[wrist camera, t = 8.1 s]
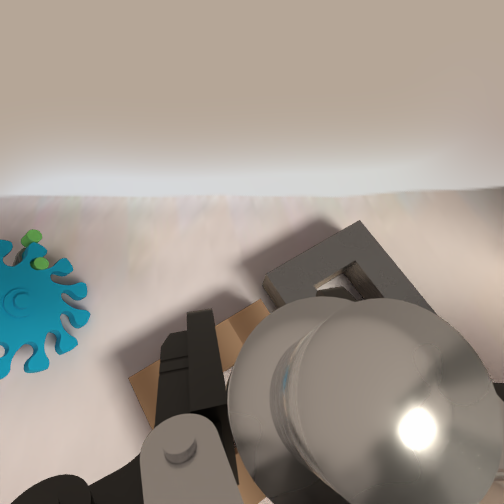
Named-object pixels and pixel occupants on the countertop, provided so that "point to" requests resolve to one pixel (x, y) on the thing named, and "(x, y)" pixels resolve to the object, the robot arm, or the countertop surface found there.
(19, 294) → the blue pixel flower
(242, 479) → the rack block
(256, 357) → the steel pin
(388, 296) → the socket block
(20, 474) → the countertop surface
